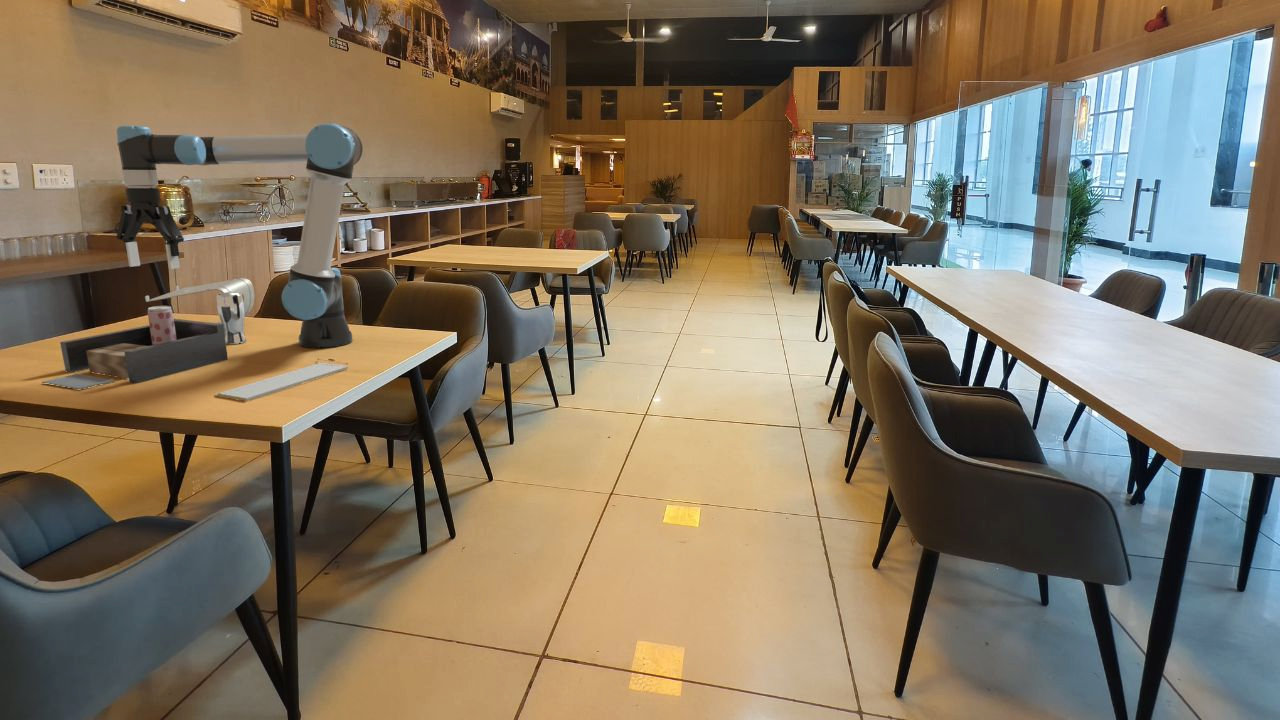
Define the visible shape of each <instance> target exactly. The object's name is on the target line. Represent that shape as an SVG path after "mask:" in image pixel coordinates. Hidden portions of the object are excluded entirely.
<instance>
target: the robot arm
mask: <svg viewBox="0 0 1280 720" xmlns="http://www.w3.org/2000/svg"><path fill="white" fill-rule="evenodd" d="M116 137H117V146H118V152H119V157H120V162H121V169H122V178H123V184H124V186H125V187H126V189H125V195H126V201H127V202H128V203H130V204H125V205H123V204H122V205H121V206H120V211H121V214H120V220H119V224H118V227H117V232H116V239H117V240H120V241H122V242H123V244H124V250H125V253H126V256H127V261H128V266H129V268H131V267H140V266H141V261H140V254H139V249H138V242H137V240H136V237H137V235H138V233H139V232H140V229H141V228H142V226H143V224H145V223H146V224H150V225H152V226H154V228H155V229H156V230H157V231H158V232H159V234H160V235H161V236H162V238H163V239H164V240H165V241H166V243H165V246H164V247H165V251H166V259H167V265H168V269H169V270H174V269H180V261H179V255H180V251H179V243H182V242H184V241H185V239H184V236H183V234H182V232H181V230H180V229H179V227H178V225H177V223H176V221H175V219H174V217H173V216H172V212H171V209H170V207H169V206H168V205H163V206H162V205H160V204H159V203H160V202H161V201H162V199H161V191H160V189H159V188H158V186H159V181H158V180H159V179H158V174H157V166H156V165H180V166H181V165H185V166H213V165H215V166H216V165H244V164H245V165H247V164H282V163H283V164H285V163H286V164H287V163H289V164H290V163H293V164H294V163H306V166H305V167H306V168H305V170H306V172H307V173H308V174H309V176H310V179H309V180H310V182H309V188H308V195H307V199H306V207H305V213H304V219H303V225H302V231H301V237H300V245H299V251H298V255H297V256H298V257H297V262H296V263H294V264H293V265H291V266H290V269H289V276H288V280H287V281H288V282H287V284H286V285H284V286H285V287H284V288H283V290H282V292H281V302H282V305H283V307H284V309H285V310H286V312H287V313H289V315H290V316H292V317H294V318H296V319H298V320H302V323H301V327H300V334H299V335H298V344H299V346H300V345H301V347H303V346H305V348H310V347H319V348H318V349H320V347H323V349H324V347H325V348H333V347H334V346H335V347H340V346H344V345H348V344H351V343H352V342H353V340H354V339H353V333H352V331H351V330H350V327H349V325H348V322H347V319H346V317H345V308H344V298H343V285H342V284H343V283H342V279H343V277H342V276H341V275H342V274H341V271H340V269H339V268H337V267H332V261H333V257H334V256H333V255H334V249H335V243H336V237H337V231H338V225H339V219H340V214H341V207H342V201H343V195H344V190H345V185H346V184H347V183H349V182H350V181H352V177H353V172H354V166H355V165H356V164H358V163H359V161H360V160H361V158H362V156H363V150H364V149H363V147H364V146H363V143H362V141H361V138H360V137H359V136H358V133H356V132H355V131H354V130H352V129H351V128H349V127H346V126H343V125H340V124H338V123H332V122H325V123H321V124H319V125H317V126H314V127H312V129H311V130H310V131H309V132H308V134H289V135H287V134H285V135H284V134H283V135H280V134H279V135H278V134H277V135H246V136H245V135H239V136H238V135H237V136H235V135H233V136H229V135H228V136H198V135H190V134H153V133H152V132H151V128H150V127H148V126H144V125H143V126H140V125H120V126H118V127H117V129H116Z"/></svg>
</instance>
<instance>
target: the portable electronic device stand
mask: <svg viewBox="0 0 1280 720" xmlns="http://www.w3.org/2000/svg"><path fill="white" fill-rule="evenodd" d="M174 287H175V290H173V291H170V292H167V293H165V294H162V295H159V296H156V297H154V298H151V299H150V296H149V295H146V296H144V299H145V302H146V303H149V302H154V301H160V300H165V299H172V298H176V297H178V298H179V297H182V296H188V295H193V294H198V293H205V292H211V291H220V292H221V293H226V292H240V293H241V294H242V299H243V304H244V318H245V317H246V316H247V315H248V314H249V313H250V312H251V311H252V309H253V307H254V303H255V289H254V286H253V282H251V280H250V279H248V278H245V277H240V278H234V279H228V280H222V281H218V282H211V283H205V284H200V285H199V284H198V285H193V286H189V287H188V286H187V287H182V288H180V286H179V285H175V286H174ZM206 322H207V321H206ZM207 323H216V324H222V323H221V321H215V322H214V321H211V322H209V321H208V322H207Z"/></svg>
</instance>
